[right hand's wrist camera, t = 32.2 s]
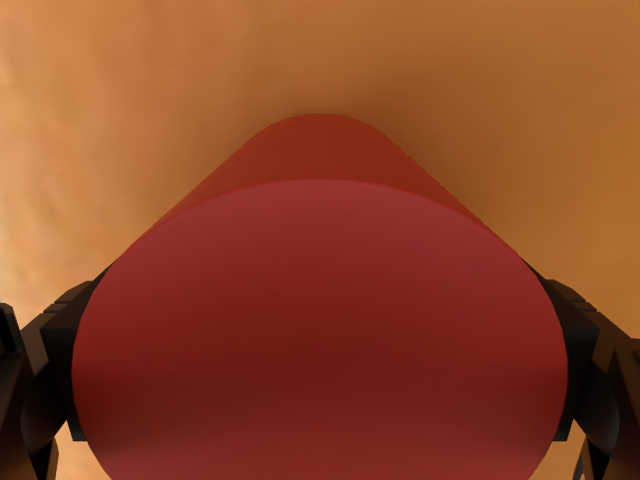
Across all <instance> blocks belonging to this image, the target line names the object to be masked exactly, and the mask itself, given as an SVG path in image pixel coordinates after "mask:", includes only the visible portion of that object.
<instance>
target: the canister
mask: <svg viewBox="0 0 640 480" xmlns="http://www.w3.org/2000/svg"><path fill="white" fill-rule="evenodd" d="M71 377H72V388H73V399H74V404H75V408H76V411H77V415H78V419H79V423H80V426H81V428H82V431H83V433H84V435H85V438H86V440H87V442H88V445H89V447H90V449H91V450H92V452H93V454H94V455H95V457H96V458H97V460H98V462H99V463H100V465H101V467H102V468H103V470H104V471H105V472H106V473H107V475H108V476H109V477H110V478H111V479H112V480H528V479H529V478H530V477H531V476H532V474H533V473H534V471H535V470H536V468H537V467H538V465H539V464H540V462H541V461H542V459H543V458H544V457H545V455H546V453H547V451H548V449H549V447H550V445H551V443H552V441H553V439H554V437H555V435H556V433H557V430H558V426H559V423H560V420H561V417H562V414H563V411H564V406H565V399H566V393H567V386H568V365H567V353H566V348H565V343H564V338H563V332H562V328H561V325H560V323H559V320H558V318H557V315H556V312H555V310H554V307H553V305H552V302H551V300H550V299H549V297H548V295H547V293H546V292H545V290H544V288H543V287H542V285H541V283H540V282H539V280H538V278H537V277H536V275H535V274H534V273H533V272H532V271H531V269H530V268H529V267H528V266H527V265H526V263H525V262H524V261H523V260H522V259H521V258H520V256H519V255H518V254H517V253H516V252H515V251H514V250H513V249H512V248H511V247H510V246H509V245H508V244H506V243H505V242H504V241H503V240H502V239H501V238H500V237H499V236H497V235H496V234H495V233H494V232H493V231H492V230H491V229H490V228H488V227H487V226H486V225H485V224H484V223H483V222H482V221H481V220H479V219H478V218H477V217H476V216H475V215H474V214H473V213H472V212H470V211H469V210H468V209H467V208H466V207H465V206H464V205H463V204H461V203H460V202H459V201H458V200H457V199H456V198H455V197H454V196H452V195H451V194H450V193H449V192H448V191H447V190H446V189H445V188H444V187H442V186H441V185H440V184H439V183H438V182H437V181H436V180H435V179H433V178H432V177H431V176H430V175H429V174H428V173H427V172H426V171H424V170H423V169H422V168H421V167H420V166H419V165H418V164H417V163H415V162H414V161H413V160H412V159H411V158H410V157H409V156H408V155H406V154H405V153H404V152H403V151H402V150H401V149H400V148H399V147H397V146H396V145H395V144H394V143H393V142H392V141H391V140H389V139H388V138H387V137H386V136H385V135H383V134H382V133H380V132H379V131H377V130H376V129H374V128H372V127H370V126H368V125H366V124H364V123H362V122H360V121H357V120H353V119H350V118H347V117H343V116H337V115H330V114H311V115H302V116H297V117H293V118H289V119H285V120H283V121H280V122H278V123H276V124H273V125H271V126H269V127H268V128H266V129H264V130H262V131H261V132H259V133H258V134H256V135H255V136H254V137H253V138H251V139H250V140H249V141H247V142H246V143H245V144H244V145H243V146H242V147H241V148H240V149H238V150H237V151H236V152H235V153H234V154H233V155H232V156H231V157H229V158H228V159H227V160H226V161H225V162H224V163H223V164H222V165H220V166H219V167H218V168H217V169H216V170H215V171H214V172H213V173H211V174H210V175H209V176H208V177H207V178H206V179H205V180H204V181H202V182H201V183H200V184H199V185H198V186H197V187H196V188H195V189H193V190H192V191H191V192H190V193H189V194H188V195H187V196H186V197H184V198H183V199H182V200H181V201H180V202H179V203H178V204H176V205H175V206H174V207H173V208H172V209H171V210H170V211H169V212H167V213H166V214H165V215H164V216H163V217H162V218H161V219H160V220H158V221H157V222H156V223H155V224H154V225H153V226H152V227H151V228H149V229H148V230H147V231H146V232H145V233H144V234H143V235H142V236H140V237H139V238H138V239H137V240H136V241H135V242H134V243H133V244H132V245H131V246H130V247H129V248H128V249H127V250H126V251H125V252H124V253H123V254H122V255H121V256H120V257H119V258H118V259H117V260H116V262H115V263H114V264H113V265H112V266H111V267H110V268H109V270H108V271H107V273H106V274H105V276H104V277H103V278H102V280H101V281H100V283H99V284H98V286H97V287H96V289H95V290H94V292H93V293H92V296H91V298H90V300H89V302H88V304H87V307H86V309H85V311H84V313H83V315H82V318H81V320H80V324H79V328H78V332H77V336H76V340H75V343H74V348H73V360H72V372H71Z"/></svg>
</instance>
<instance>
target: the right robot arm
mask: <svg viewBox="0 0 640 480" xmlns="http://www.w3.org/2000/svg"><path fill="white" fill-rule="evenodd" d="M520 258H521V257H520ZM521 259H522V258H521ZM116 260H117V259H116ZM116 260H115V261H114V262H113V263H112V264H111V265H110V266H109V267H108V268H106V269H105V270H104V271H103V272H102V273H101V274H100V275H99V276H98V277H96V278H95V279H94V280H93V281H86V282H84V283H82V284H80V285H78V286H76V287H74V288H72V289H70V290H68V291H66V292H65V293H64V294H63V295H62V296H60V297H59V298H58V299H57V300H56V301H55V302H54V304H51V305H50V306H49V307H47V308H46V309H45V310H44V311H43V313H40V314H39V315H38V316H37V317H36V318H34V319H33V320H32V321H31V322H30V323H29V324H27V325H26V326H25V327H24V328H23V329H21V330H20V329H19V326H18V323H17V320H16V317H15V314H14V311H13V308H12V306H10V305H8V304H6V303H0V480H55V478H56V470H57V463H58V456H59V452H58V446H57V443H56V440H55V437H54V436H55V435H56V433H57V432H58V431H59V429H60V428H61V427H62V425H63V424H64V423H65V421H66V420H67V423H68V426H69V429H70V432H71V436H72V439H73V441H87V440H86V438H85V435H84V433H83V431H82V428H81V426H80V423H79V419H78V415H77V411H76V408H75V404H74V399H73V388H72V377H71V372H72V360H73V348H74V343H75V340H76V336H77V332H78V328H79V324H80V320H81V318H82V315H83V313H84V311H85V309H86V307H87V304H88V302H89V300H90V298H91V296H92V293H93V292H94V290H95V289H96V287H97V286H98V284H99V283H100V281H101V280H102V278H103V277H104V276H105V274H106V273H107V271H108V270H109V268H110V267H111V266H112V265H113V264H114V263H115V262H116ZM522 260H523V259H522ZM523 261H524V260H523ZM524 262H525V261H524ZM525 263H526V265H527V266H528V267H529V268H530V269H531V271H532V272H533V273H534V274H535V275H536V277H537V278H538V280H539V282H540V283H541V285H542V287H543V288H544V290H545V292H546V293H547V295H548V297H549V299H550V300H551V302H552V305H553V307H554V310H555V312H556V315H557V318H558V320H559V323H560V325H561V328H562V332H563V338H564V343H565V348H566V353H567V365H568V386H567V393H566V399H565V406H564V411H563V414H562V417H561V420H560V423H559V426H558V430H557V433H556V435H555V437H554V439H553V441H567V438H568V435H569V431H570V428H571V425H572V422H573V418H574V419H575V421H576V422H577V423H578V425H579V426H580V427H581V429H582V430H583V432H584V433H585V434H586V437H585V440H584V443H583V446H582V449H581V452H580V455H579V458H578V461H577V464H576V467H575V470H574V474H573V480H580V478H581V475H582V474H583V473H584V476H585V480H640V339H636V338H632V339H631V338H630V337H629V336H628V335H627V334H625V333H624V332H623V331H622V330H621V329H620V328H618V327H617V326H616V325H615V324H614V323H612V322H611V321H610V320H609V319H608V318H606V317H605V316H604V315H603V314H602V313H600V312H597V309H596V308H595V307H593V306H592V305H591V304H590V303H589V302H586V300H585V299H584V298H583V297H581V296H580V295H579V294H578V293H577V292H575V291H574V290H573V289H571V288H569V287H567V286H565V285H563V284H561V283H559V282H557V281H555V280H546V279H544V278H543V277H542V276H541V275H540V274H539V273H538V272H537V271H535V270H534V269H533V268H532V267H531V266H530V265H529V264H528V263H527V262H525Z"/></svg>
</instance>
